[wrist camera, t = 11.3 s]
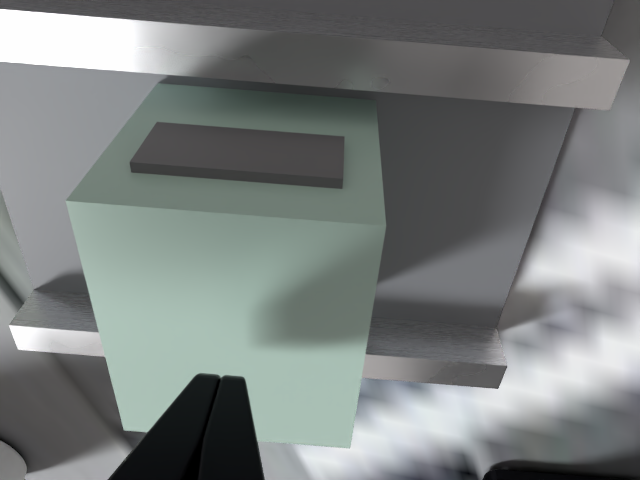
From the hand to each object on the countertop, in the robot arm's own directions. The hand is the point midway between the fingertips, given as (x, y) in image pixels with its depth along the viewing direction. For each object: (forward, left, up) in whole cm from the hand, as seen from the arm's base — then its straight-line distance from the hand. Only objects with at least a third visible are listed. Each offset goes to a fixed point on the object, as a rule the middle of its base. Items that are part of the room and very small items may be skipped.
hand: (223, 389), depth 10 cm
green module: (0, 0, -6) cm, 6 cm away
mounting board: (0, 0, -6) cm, 6 cm away
